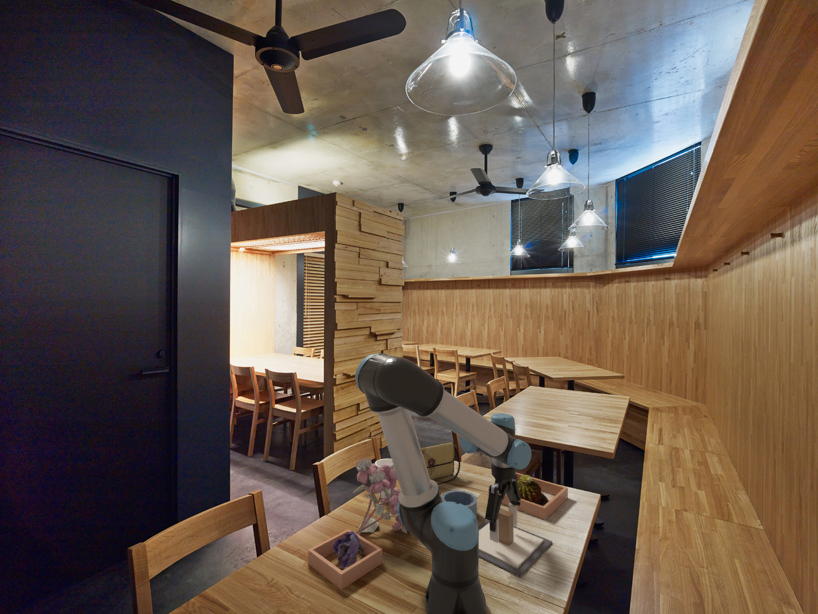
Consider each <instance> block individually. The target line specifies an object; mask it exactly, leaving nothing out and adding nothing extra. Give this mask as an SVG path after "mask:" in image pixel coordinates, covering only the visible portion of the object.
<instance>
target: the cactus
mask: <svg viewBox="0 0 818 614" xmlns="http://www.w3.org/2000/svg"><path fill="white" fill-rule="evenodd" d="M532 477H533V476H530V475H529V474H523V475H521V477H520V478H519V479H521V480H519V481H517V483H518V487H519V492H520V497H521V499H523V500H526V501H529V502H532V503H535V504H538V505H541V506H544V505H545V504H547V503H548V502H549V501H550V500H549V499H548V497H547V496H546V495H545V494H544V492H543V491H541V487H540V486H539V484H537V482H536V481H535V482H534V481H533V478H534V477H533V478H532ZM516 496H517V495H516Z"/></svg>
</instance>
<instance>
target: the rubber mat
mask: <svg viewBox="0 0 818 614" xmlns="http://www.w3.org/2000/svg"><path fill="white" fill-rule="evenodd" d="M488 523H490V521H489V520H486V521H484V522H483V523H481V524H480V525H478V530H481V529H482V528H483V527H485V526H486V525H487V524H488ZM513 527H514V528H516V529H518V530H521V531H523V532H526V533H528V534H531V535H533V536H536V537H538V538H541V539H543V543H542V544H541V545H540V546H539V547H538V548H537V549H536V550H535V551H534V552H533V553H532V554H531V555H530V556H529V557H528V558H527V559H526V560H525V561H524V562H523V563H522V564H521V565H520V566H519V568H518V569H516V568H514V567H512V566H510V565H508V564H506V563H504V562H501V561H499V560H497V559H495V558H493V557H491V556H489V555H487V554H485V553H483V552H481V551H479V558H480V559H482V560H484V561H485V562H488V563H490V564H492V565H493V566H496V567H498V568H500V569H502V570H503V571H506V572H508V573H510V574H513V575H514V576H516V577H518V578H522V576H523V575H525V573H527V571H528V570H529V569H530V568H531V567H532V566H533V564H534V563H536V561H537V560H538V559H539V558H540V557H541V556H542V554H543V553H544V552H545V551H546V550H547V549H548V548H549V547H550V546H551V545H552V544H553V540H550V539H548V538H545V537H542V536H540V535H538V534H536V533H533V532H530V531H528V530H525V529H523V528H520V527H518V526H517V527H516V526H513Z"/></svg>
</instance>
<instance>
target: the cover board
mask: <svg viewBox="0 0 818 614" xmlns="http://www.w3.org/2000/svg"><path fill="white" fill-rule="evenodd" d="M497 520H499V542H498V543H496V542H494V541H492V540H490V523H488V524H487V525H486V526H485V527H483V528H482V529H481V530H479V551H481V552H483V553H485V554H487V555H489V556H491V557H493V558H495V559H497V560H499V561H501V562H504V563H506V564H508V565H510V566H512V567H514V568H516V569H518V568H519V566H520V565H521V564H522V563H523V562H524V561H525V560H526V559H527V558H528V557H529V556H530V555H531V554H532V553H533V552H534V551H535V550H536V549H537V548H538V547H539V546H540V545H541V544H542V543H543V539H541V538H538V537H536V536H533V535H531V534H528V533H526V532H523V531H521V530H518V529H516V528H514V527H513V513H512V512H509V510H506V509H503V508H501V507H500V510H499V514H498V518H497Z"/></svg>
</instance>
